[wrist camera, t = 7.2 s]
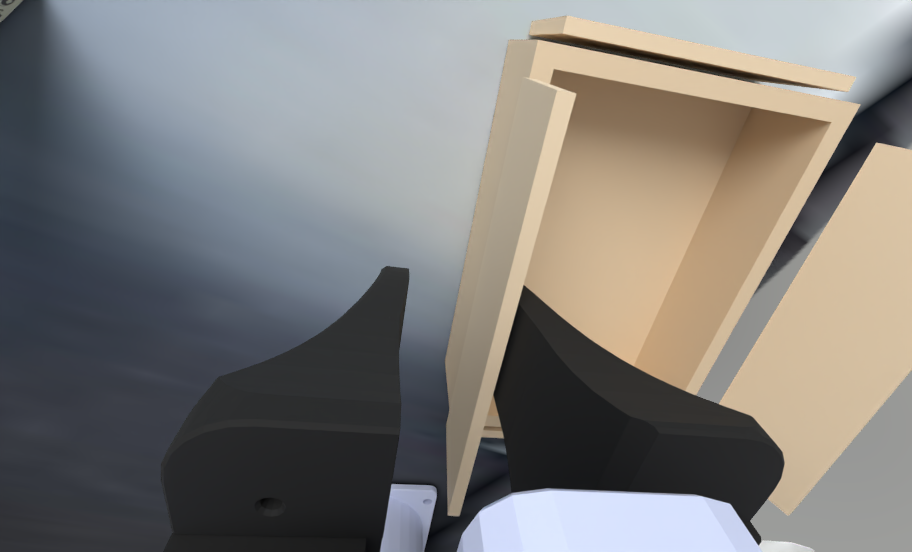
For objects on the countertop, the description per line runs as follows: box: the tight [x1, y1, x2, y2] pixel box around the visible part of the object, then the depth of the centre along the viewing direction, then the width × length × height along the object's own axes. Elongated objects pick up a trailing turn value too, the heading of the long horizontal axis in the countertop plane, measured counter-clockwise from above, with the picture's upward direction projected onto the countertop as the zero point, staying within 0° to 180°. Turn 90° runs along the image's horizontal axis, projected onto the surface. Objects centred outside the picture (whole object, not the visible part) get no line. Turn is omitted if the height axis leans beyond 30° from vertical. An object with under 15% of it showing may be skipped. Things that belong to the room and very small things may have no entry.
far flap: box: [719, 143, 912, 516], centre depth 14 cm, size 12×4×1 cm
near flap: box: [446, 77, 576, 516], centre depth 12 cm, size 12×4×1 cm
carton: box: [445, 16, 860, 438], centre depth 17 cm, size 15×10×4 cm, turn 170°
